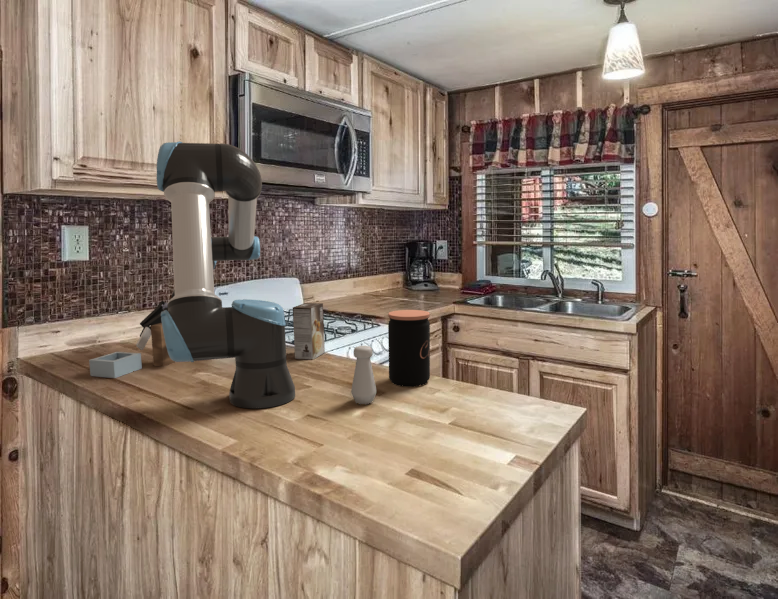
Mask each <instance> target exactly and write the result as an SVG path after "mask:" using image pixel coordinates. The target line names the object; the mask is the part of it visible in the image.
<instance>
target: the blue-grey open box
mask: <svg viewBox="0 0 778 599" xmlns="http://www.w3.org/2000/svg"><path fill="white" fill-rule="evenodd" d="M88 362H89V364H88V365H89V373H90V374H89V375H90V376H91V377H97V378H98V377H100V378H110V379H117V378H119V377H122V376H125V375H128V374H130V373H133V371H134V372H136V371H139V370H142V369H143V364H142V353H141V352H131V351H130V352H127V351H115V352H112V353H109V354H105V355H101V356H98V357H95V358H90V359H89V360H88Z"/></svg>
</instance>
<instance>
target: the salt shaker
mask: <svg viewBox="0 0 778 599" xmlns="http://www.w3.org/2000/svg"><path fill="white" fill-rule="evenodd" d="M373 354H374V353H373V348H372V347H371V346H369V345H358V346H355V347H354V348H353V357H355V358H356V359H355V360H356V361H355V368H354V373H353V379H352V385H351V390H350V394H351V396H352V398H353V400H354V402H355V404H357V403H359V404H358V405H361V404H365V405H370V404H369V403H371V402H372V401H373V402H374V400H375V397H376V394H377V387H376V381H375V376H374V371H373V366H372V361H371V358H372V357H373ZM373 402H372V403H373ZM372 403H371V404H372Z"/></svg>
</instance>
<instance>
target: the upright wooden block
mask: <svg viewBox="0 0 778 599" xmlns="http://www.w3.org/2000/svg"><path fill="white" fill-rule="evenodd" d="M150 326H151V336H150V338H151V347H152V360H153V366H155V367H167V366H169V365H171V364H173V363H174V364H175V363H176V362H175V361H173V360H172V359H171V358H170V357H169V354H168V351H167V347H166V343H165V338H164V333H163V328H162V323H159V324H155V325H150Z"/></svg>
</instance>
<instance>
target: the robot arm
mask: <svg viewBox="0 0 778 599" xmlns="http://www.w3.org/2000/svg"><path fill="white" fill-rule="evenodd" d="M260 172H261V171H260V170H259V168H258V166H257V164H256V163H255V161H254V160H253V159H252V157H250V156H249V155H248V154H247V153H246V152H245V151H243V150H242V148H239V147H237V146H234V145H232V144H229V143H228V144H227V143H209V142H207V143H206V142H205V143H203V142H201V143H200V142H183V141H177V142H175V141H173V142H164V143H162V144H161V145H160V147H159V149H158V152H157V159H156V175H155V176H156V178H155V179H156V186H157V189H158V191H160V192H163V196H164V198H165V200H167V201H169V202H170V203H171V204H170V205H171V206H170V207H171V228H172V230H171V231H172V232H171V234H172V236H171V237H172V257H173V259H172V260H173V281H174V283H173V285H174V290H173V292H172V294H171V299H169V300H168V302H165V301H164V300H160V302H159V303H158V305H157V306H156V307H155V308H154V309H153V310H152V311H151V312H150V313H149V314H148V315H147V316H145V318H144V319H142V321H141V322H139V325H140V326H141V327H142V328H143V329H142V331H141V332H140V334H139V339H138V340H137V342H136V343H135V346H136V347H137V348H138V349H139V350H140V351H144V349H145V347H146V345H147V343H148V341H149V339H150V338H151V325H155V324H159V323H162V328H163V333H164V338H165V343H166V347H167V351H168V354H169V357H170V358H171V359H172V360H173V361H175V362H174V363H186V362H187V363H188V362H190V363H194V362H197V361H198V362H199V361H209V360H223V359H233V358H235V359H234V361H235V370H234V373H233V376H232V382H231V385H230V387H229V396H228V397H229V403H230V404H231V405H232V406H235V407H237V408H242V409H243V408H244V409H265V408H273V407H278V406H282V405H284V404H287V403H289V402H291V401H293V400H294V399H295V397H296V385H295V383H294V380H293V377H292V374H291V372H290V370H289V367H288V365H287V364H288V363H287V349H286V347H287V344H286V342H287V341H286V326H287V323H286V320H285V319H286V318H285V311H284V310H285V309H284V308H283V306H281V304H279V303H276V302H273V301H269V300H261V299H247V298H246V299H245V298H244V299H234V300H232V303H231V306H227V307H226V306H225V307H223V301H222V299H221V298H220V297H219V296H218V295H216V293H215V283H214V281H215V280H214V279H215V278H214V269H216V264H217V262H225V261H250V260H252V261H253V260H258V259H259V258H260V256H261V245H260V244H261V243H260V238H259V237H258V236H255V229H256V217H257V216H256V215H257V202H258V198H259V196H260V195H261V192H262V187H263V185H262V184H263V179H262V175H261V173H260ZM216 192H225V193H226V195H227V196H228V201H227V202H228V203H227V206H228V236H212V233H211V231H212V230H211V229H212V228H211V219H210V218H211V213H210V203H211V202H212V201H213V200H214V199H215V197H216Z"/></svg>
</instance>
